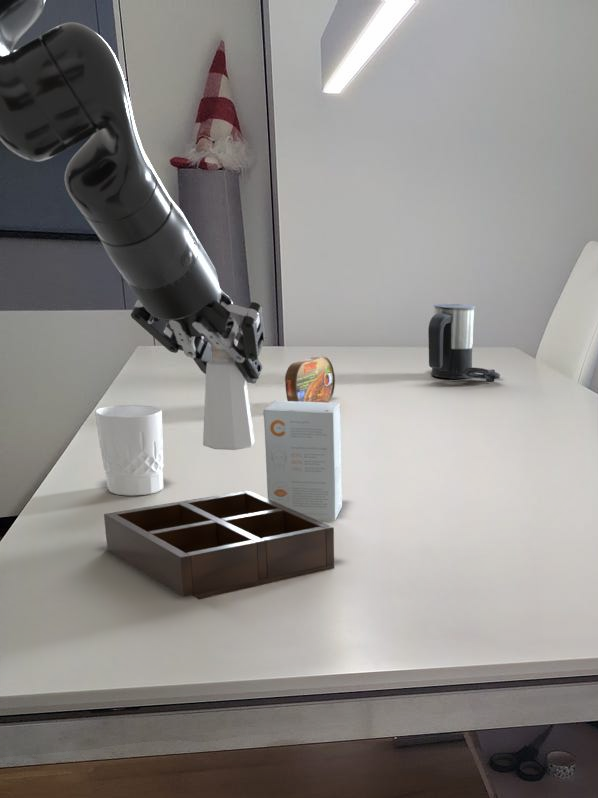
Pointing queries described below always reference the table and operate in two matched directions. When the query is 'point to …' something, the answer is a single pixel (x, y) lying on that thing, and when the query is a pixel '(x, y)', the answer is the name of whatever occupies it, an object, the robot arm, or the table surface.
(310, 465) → the small box
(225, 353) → the salt shaker
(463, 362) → the milk frother
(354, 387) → the table surface
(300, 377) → the tin
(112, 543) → the divided wooden tray
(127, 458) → the white cup
